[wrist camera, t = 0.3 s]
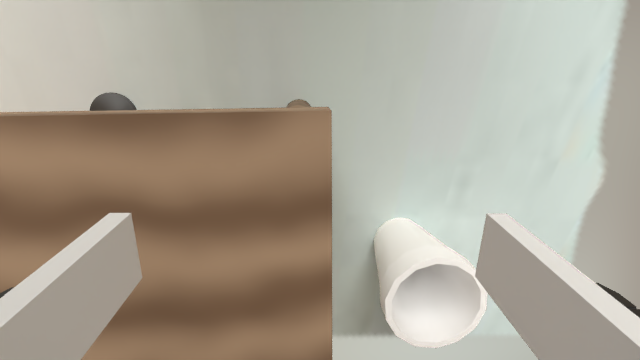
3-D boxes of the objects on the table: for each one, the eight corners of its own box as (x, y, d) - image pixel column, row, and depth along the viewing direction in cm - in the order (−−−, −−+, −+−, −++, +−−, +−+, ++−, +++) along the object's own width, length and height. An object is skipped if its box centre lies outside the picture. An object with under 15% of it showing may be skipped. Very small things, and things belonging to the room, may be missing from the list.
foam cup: (404, 190, 43) (446, 237, 30) (450, 240, 45) (507, 303, 32) (345, 241, 44) (363, 306, 32) (393, 287, 46) (427, 364, 34)
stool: (86, 93, 38) (-137, 108, 18) (316, 89, 39) (331, 101, 20) (124, 293, 44) (-10, 457, 25) (319, 286, 46) (332, 437, 26)
